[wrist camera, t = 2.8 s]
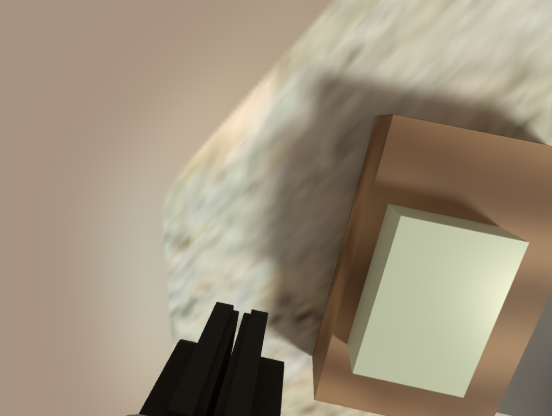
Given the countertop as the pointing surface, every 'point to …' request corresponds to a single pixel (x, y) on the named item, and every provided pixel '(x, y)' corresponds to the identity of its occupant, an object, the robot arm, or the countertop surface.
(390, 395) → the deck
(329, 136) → the countertop surface
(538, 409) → the mat
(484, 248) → the pale green flat block
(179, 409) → the robot arm
